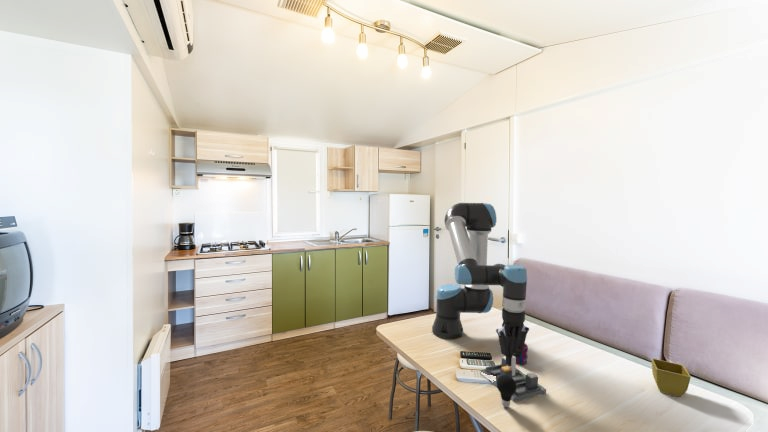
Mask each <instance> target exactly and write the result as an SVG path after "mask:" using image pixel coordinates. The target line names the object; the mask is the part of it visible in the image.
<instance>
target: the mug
mask: <svg viewBox="0 0 768 432" xmlns="http://www.w3.org/2000/svg"><path fill="white" fill-rule="evenodd" d="M528 347H529V346H528V344H526V343H525V344H524V348H523V352H522V354H519V356H520V357H519V358H517V364H516V365H519V366H523V365H524V366H525V365H527V364H528V355H529V354H528V352H529V351H528Z"/></svg>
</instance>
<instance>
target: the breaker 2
mask: <svg viewBox="0 0 768 432" xmlns="http://www.w3.org/2000/svg"><path fill="white" fill-rule="evenodd" d="M525 375H526V382H525V386H527V387H528V388H529V389H533V388H537V387H538V384H539V376H538V374H537V373H535V372H533V371H531V372H527V373H526V374H525Z"/></svg>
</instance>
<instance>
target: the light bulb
mask: <svg viewBox="0 0 768 432" xmlns="http://www.w3.org/2000/svg"><path fill="white" fill-rule="evenodd" d="M496 388H497V390H498V391H499V393H500V397H501V405H502V406H503V407H504V408H509V407H510V405H511V401H512V400H511V397H512V395H513V394H514V393H515V391H516V383H515V381H514V379H513V378H512V377H510V376H508V375H501V376H500V377H499V378H498V379H497V387H496Z"/></svg>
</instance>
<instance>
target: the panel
mask: <svg viewBox="0 0 768 432" xmlns="http://www.w3.org/2000/svg"><path fill="white" fill-rule="evenodd" d="M501 364H502V363H500V364H497V365H495V364H494V365H491V366H487V367H485V368H484V369H480V373H481V372H483V373H485V374H487V375H493V376H496V381H494V380H493V381H494V382H493V383H491V384H492V385H493V386H494V387H495V388H497V379H498V378H499V377H500V369H501ZM526 375H527V374H525V373H524V372H522V371H521V370H519V369H518V368H517V367H516V369H515V375H514V376H512V378H513V379H514V381H515V383H516V391H515V393H514V394H513V395H512V397H511V400H510V401H512V402H518V401H521V400H525V399H530V398H533V397H537V396H542V395H545V394H547V389H546V388H545V387H544V386H542V385H541V384H539V383H538V387H537V388H533V389H529V388H528V387H527V386H525V382H526Z"/></svg>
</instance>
